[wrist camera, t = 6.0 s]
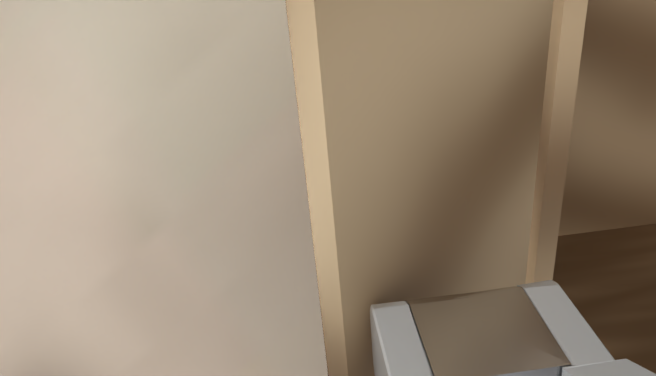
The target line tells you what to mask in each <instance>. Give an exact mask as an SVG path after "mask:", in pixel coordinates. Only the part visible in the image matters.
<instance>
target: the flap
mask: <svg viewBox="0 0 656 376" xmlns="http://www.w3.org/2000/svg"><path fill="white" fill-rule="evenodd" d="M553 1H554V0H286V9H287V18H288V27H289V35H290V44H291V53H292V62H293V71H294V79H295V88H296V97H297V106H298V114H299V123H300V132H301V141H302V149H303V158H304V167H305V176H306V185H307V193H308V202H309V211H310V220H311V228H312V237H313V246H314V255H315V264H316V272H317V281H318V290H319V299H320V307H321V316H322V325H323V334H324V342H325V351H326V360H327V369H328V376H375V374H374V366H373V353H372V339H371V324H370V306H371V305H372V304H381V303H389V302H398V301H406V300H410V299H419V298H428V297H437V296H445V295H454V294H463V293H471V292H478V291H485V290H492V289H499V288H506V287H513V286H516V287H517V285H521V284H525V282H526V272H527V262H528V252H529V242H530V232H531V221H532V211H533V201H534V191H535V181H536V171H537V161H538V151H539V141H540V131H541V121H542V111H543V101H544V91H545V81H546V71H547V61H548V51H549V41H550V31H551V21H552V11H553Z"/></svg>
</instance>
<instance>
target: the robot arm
mask: <svg viewBox="0 0 656 376" xmlns="http://www.w3.org/2000/svg"><path fill="white" fill-rule="evenodd" d="M370 324H371V339H372V353H373V366H374V374H375V376H656V374H655V373H653V372H651V371H649V370H647V369H645V368H643V367H641V366H640V365H638V364H636V363H634V362H632V361H630V360H628V359H619V360H615V359H614V358H613V356H612V355H611V354H610V352H609V351H608V350H607V348H606V347H605V346H604V344H603V343H602V342H601V340H600V339H599V338H598V336H597V335H596V334H595V332H594V331H593V330H592V328H591V327H590V326H589V324H588V323H587V322H586V320H585V319H584V318H583V316H582V315H581V314H580V312H579V311H578V310H577V308H576V307H575V306H574V304H573V303H572V301H571V300H570V299H569V297H568V296H567V295H566V293H565V292H564V291H563V289H562V288H561V287H560V285H559V284H558V283H556V282H555V281H553V280H547V281H540V282H534V283H528V284H521V285H517V287H516V286H513V287H506V288H499V289H492V290H485V291H478V292H471V293H463V294H454V295H445V296H437V297H428V298H419V299H410V300H406V301H398V302H389V303H381V304H372V305H371V306H370Z"/></svg>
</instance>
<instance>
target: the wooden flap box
mask: <svg viewBox="0 0 656 376" xmlns="http://www.w3.org/2000/svg"><path fill="white" fill-rule="evenodd" d="M547 280H553V281H555V282H556V283H558V284H559V285H560V287H561V288H562V289H563V291H564V292H565V293H566V295H567V296H568V297H569V299H570V300H571V301H572V303H573V304H574V306H575V307H576V308H577V310H578V311H579V312H580V314H581V315H582V316H583V318H584V319H585V320H586V322H587V323H588V324H589V326H590V327H591V328H592V330H593V331H594V332H595V334H596V335H597V336H598V338H599V339H600V340H601V342H602V343H603V344H604V346H605V347H606V348H607V350H608V351H609V352H610V354H611V355H612V356H613V358H614V359H615V360H619V359H628V360H630V361H632V362H634V363H636V364H638V365H640V366H641V367H643V368H645V369H647V370H649V371H651V372H653V373H655V374H656V0H554V1H553V11H552V21H551V31H550V41H549V51H548V61H547V71H546V81H545V91H544V101H543V111H542V121H541V131H540V141H539V151H538V161H537V171H536V181H535V191H534V201H533V211H532V221H531V232H530V242H529V252H528V262H527V272H526V282H525V284H528V283H534V282H540V281H547Z"/></svg>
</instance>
